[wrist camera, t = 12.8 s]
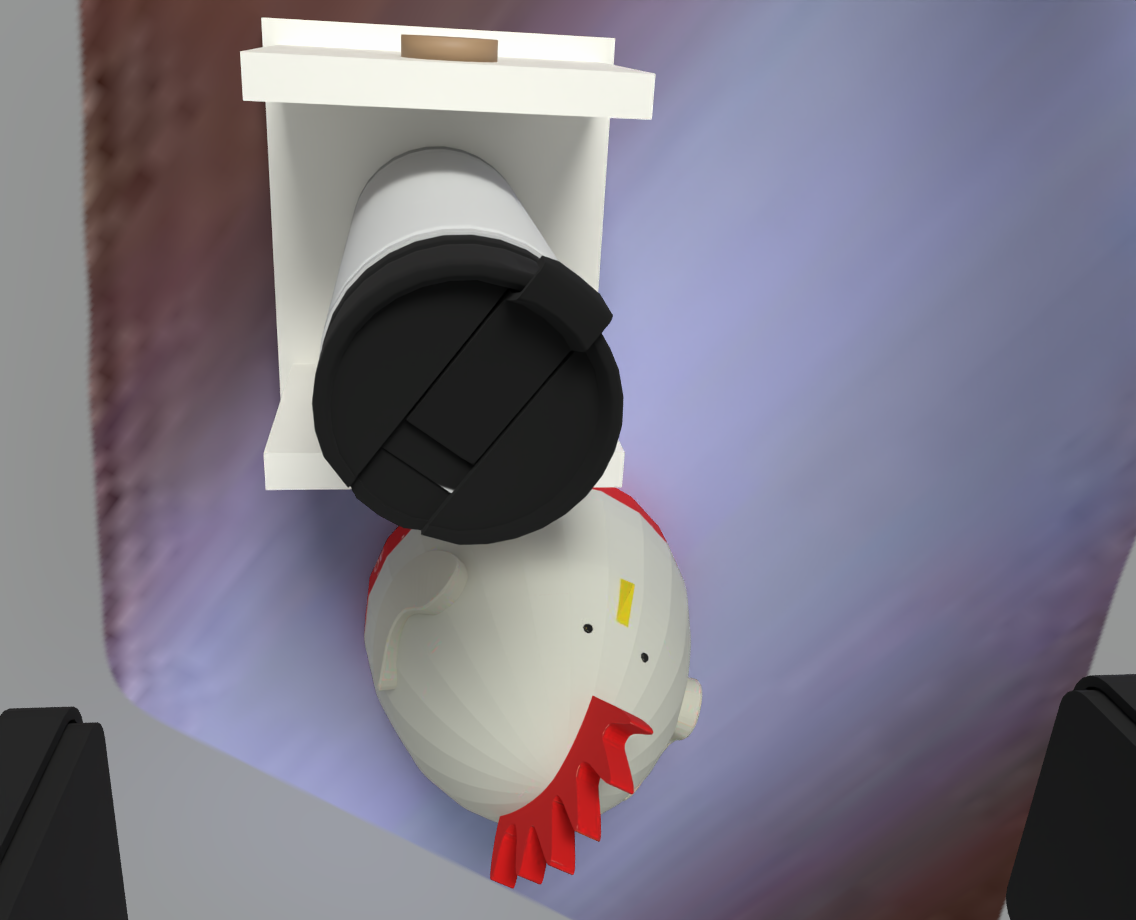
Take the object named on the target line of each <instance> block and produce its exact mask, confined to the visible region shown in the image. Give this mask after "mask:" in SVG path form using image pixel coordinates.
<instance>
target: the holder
mask: <svg viewBox="0 0 1136 920" xmlns="http://www.w3.org/2000/svg"><path fill="white" fill-rule="evenodd" d="M261 20H262V40H263V47H262V48H256V49H251V50H246V51H241V52H240V56H241V73H242V90H243V101H264V102H266V119H267V138H268V158H269V178H270V198H271V217H272V237H273V257H274V277H275V296H276V316H277V336H278V356H279V376H280V395H281V401H280V404H279V407H278V410H277V413H276V416H275V420H274V423H273V426H272V429H271V432H270V435H269V438H268V441H267V444H266V447H265V451H264V468H265V485H266V490H327V489H351V487H349V488H348V487H347V486H346V485H345V483H344V482H343V481H342V480H341V478H340V477H339V476H338V475H337V473H336V472H335V471H334V470H333V468H332V467H331V466H330V465H329V463H328V462H327V461H326V460H325V458H324V457H323V454H322V451H321V448H320V445H319V442H318V439H317V436H316V433H315V428H314V419H313V409H312V397H313V388H314V380H315V373H316V369H317V365H318V361H319V354H320V346H321V338H322V334H323V331H324V326H325V322H326V318H327V315H328V311H329V307H330V303H331V299H332V295H333V291H334V287H335V283H336V280H337V276H338V272H339V268H340V264H341V260H342V256H343V252H344V248H345V245H346V241H347V237H348V233H349V229H350V225H351V221H352V218H353V214H354V210H355V207H356V204H357V201H358V198H359V195H360V194H361V192H362V190H363V189H364V187H365V185H366V183H367V182H368V180H369V179H370V178H371V177H372V176H373V175H374V174H375V172H376V171H377V170H378V169H379V168H380V167H381V166H383V165H384V164H386V163H387V162H388V161H390V160H391V159H392V158H394V157H396V156H398V155H400V154H403V153H405V152H407V151H409V150H414V149H418V148H423V147H435V146H445V147H450V148H455V149H461V150H464V151H466V152H468V153H471V154H473V155H476V156H478V157H480V158H481V159H483V160H484V161H486V162H487V163H489V164H490V165H492V166H493V167H494V168H495V169H496V170H497V171H498V172H499V173H500V174H501V175H502V176H503V177H504V178H505V180H506V181H507V183H508V184H509V185H510V187H511V188H512V190H513V191H514V193H515V194H516V196H517V198H518V199H519V201H520V202H521V204H522V205H523V207H524V208H525V210H526V211H527V213H528V215H529V216H530V218H531V219H532V221H533V222H534V224H535V225H536V227H537V229H538V230H539V232H540V233H541V235H542V236H543V238H544V239H545V241H546V242H547V244H548V246H549V247H550V249H551V250H552V252H553V253H554V255H555V256H556V258H557V259H558V261H559V262H561V263H562V264H564V265H565V266H566V267H568V268H569V269H570V270H572V271H573V272H574V273H576V274H577V275H578V276H580V277H581V278H582V279H583V280H584V281H586V282H587V283H588V284H589V285H590V286H591V287H593V288H594V289H595V290H596V291H597V292H598V287H599V272H600V257H601V242H602V227H603V212H604V197H605V182H606V167H607V152H608V138H609V123H610V118H626V119H648V120H652V110H653V98H654V85H655V74H653V73H649V72H644V71H639V70H635V69H630V68H625V67H620V66H616V65H613V63H614V48H615V38H601V37H584V36H567V35H550V34H533V33H516V32H499V31H482V30H465V29H448V28H431V27H414V26H397V25H380V24H363V23H346V22H329V21H312V20H295V19H278V18H261ZM624 454H625V452H624V450H623V448H622V446H621V444H620V442H619V440H618V442H617V446H616V450H615V452H614V454H613V456H612V458H611V460H610V462H609V464H608V466H607V468H606V470H605V472H604V474H603V476H602V477H601V478H600V479H599V481H598V482H597V483H596V485H595V486H594V487H622V479H623V467H624Z"/></svg>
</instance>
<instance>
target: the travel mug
mask: <svg viewBox="0 0 1136 920" xmlns="http://www.w3.org/2000/svg"><path fill="white" fill-rule="evenodd" d="M612 317H613V314H612V313H611V311H610V310H609V308H608V307H607V305H606V303H605V302H604V300H603V298H602V297H601V295H600V294H599V293H598V292H597V291H596V290H595V289H594V288H593V287H591V286H590V285H589V284H588V283H587V282H586V281H584V280H583V279H582V278H581V277H580V276H578V275H577V274H576V273H574V272H573V271H572V270H570V269H569V268H568V267H566V266H565V265H564V264H562V263H561V262H559V261H558V259H557V258H556V256H555V255H554V253H553V252H552V250H551V249H550V247H549V246H548V244H547V242H546V241H545V239H544V238H543V236H542V235H541V233H540V232H539V230H538V229H537V227H536V225H535V224H534V222H533V221H532V219H531V218H530V216H529V215H528V213H527V211H526V210H525V208H524V207H523V205H522V204H521V202H520V201H519V199H518V198H517V196H516V194H515V193H514V191H513V190H512V188H511V187H510V185H509V184H508V183H507V181H506V180H505V178H504V177H503V176H502V175H501V174H500V173H499V172H498V171H497V170H496V169H495V168H494V167H493V166H492V165H490V164H489V163H487V162H486V161H484V160H483V159H481V158H480V157H478V156H476V155H473V154H471V153H468V152H466V151H464V150H461V149H455V148H450V147H445V146H435V147H423V148H418V149H414V150H409V151H407V152H405V153H403V154H400V155H398V156H396V157H394V158H392V159H391V160H390V161H388V162H387V163H386V164H384V165H383V166H381V167H380V168H379V169H378V170H377V171H376V172H375V174H374V175H373V176H372V177H371V178H370V179H369V180H368V182H367V183H366V185H365V187H364V189H363V190H362V192H361V194H360V195H359V198H358V201H357V204H356V207H355V210H354V214H353V218H352V221H351V225H350V229H349V233H348V237H347V241H346V245H345V248H344V252H343V256H342V260H341V264H340V268H339V272H338V276H337V280H336V283H335V287H334V291H333V295H332V299H331V303H330V307H329V311H328V315H327V318H326V322H325V326H324V331H323V334H322V338H321V346H320V354H319V361H318V365H317V369H316V373H315V380H314V388H313V397H312V409H313V419H314V428H315V433H316V436H317V439H318V442H319V445H320V448H321V451H322V454H323V457H324V458H325V460H326V461H327V462H328V463H329V465H330V466H331V467H332V468H333V470H334V471H335V472H336V473H337V475H338V476H339V477H340V478H341V480H342V481H343V482H344V483H345V485H346V486H347V487H348V488H349V487H351V489H352V491H353V492H354V494H355V496H356V498H357V499H359V500H360V501H361V502H362V503H364V504H365V505H366V506H368V507H369V508H370V509H371V510H373V511H374V512H375V513H377V514H378V515H379V516H381V517H383V518H385V519H387V520H389V521H391V522H393V523H395V524H397V525H399V526H400V527H402V528H406V529H414V530H421V535H424V536H427V537H431V538H435V539H439V540H442V541H446V542H450V543H453V544H457V545H478V544H491V543H496V542H501V541H507V540H512V539H516V538H519V537H521V536H524V535H527V534H529V533H532V532H534V531H537V530H540V529H542V528H544V527H545V526H547V525H549V524H551V523H552V522H554V521H556V520H557V519H559V518H561V517H562V516H564V515H566V514H567V513H568V512H569V511H570V510H571V509H572V508H574V507H575V506H576V505H577V504H578V503H579V502H580V501H582V500H583V499H584V498H585V497H586V496H587V495H588V494H589V492H590V491H591V490H592V488H593V487H594V486H595V485H596V483H597V482H598V481H599V479H600V478H601V477H602V476H603V474H604V472H605V470H606V468H607V466H608V464H609V462H610V460H611V458H612V456H613V454H614V452H615V450H616V446H617V442H618V438H619V434H620V431H621V427H622V417H623V392H622V386H621V380H620V374H619V369H618V367H617V364H616V362H615V359H614V357H613V354H612V352H611V349H610V347H609V346H608V344H607V342H606V340H605V338H604V337H603V335H602V332H603V331H604V329H605V328H606V327H607V326H608V324H609V323H610V322H611V320H612Z"/></svg>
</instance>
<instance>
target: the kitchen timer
mask: <svg viewBox="0 0 1136 920" xmlns="http://www.w3.org/2000/svg"><path fill="white" fill-rule="evenodd" d="M364 641H365V647H366V652H367V656H368V660H369V665H370V669H371V673H372V678H373V682H374V686H375V690H376V694H377V697H378V699H379V701H380V703H381V705H382V707H383V709H384V711H385V713H386V715H387V717H388V719H389V720H390V722H391V724H392V726H393V728H394V729H395V731H396V733H397V735H398V736H399V738H400V739H401V741H402V743H403V744H404V746H405V747H406V749H407V751H408V752H409V754H410V755H411V757H412V759H413V760H414V762H415V763H416V765H417V766H418V768H419V769H420V770H421V772H422V773H423V774H424V775H425V776H426V777H427V778H428V779H429V780H430V781H431V782H433V783H434V784H435V785H436V786H437V787H439V788H440V789H441V790H442V791H443V792H445V793H446V794H447V795H448V796H449V797H451V798H452V799H453V800H454V801H455V802H457V803H458V804H459V805H461V806H462V807H463V808H465V809H467V810H469V811H471V812H473V813H475V814H478V815H480V816H482V817H485V818H487V819H489V820H492V821H494V822H496V823H498V826H497V831H496V836H495V842H494V848H493V854H492V862H491V872H490V879H491V880H493V881H495V882H498V883H500V884H503V885H505V886H508V887H510V888H514V886H515V883H516V879H517V875H518V876H520V877H523V878H525V879H528V880H530V881H532V882H535V883H537V884H541V883H542V881H543V878H544V873H545V868H546V862H547V864H548V865H549V866H552V867H554V868H557V869H559V870H561V871H564V872H566V873H568V874H571V875H573V874H574V871H575V833H574V831H576V832H578V833H580V834H583V835H585V836H587V837H589V838H592V839H594V840H596V841H598V842H599V841H600V838H601V816H600V815H601V814H603V813H604V812H606V811H608V810H609V809H611V808H613V807H614V806H616V805H618V804H619V803H621V802H622V801H624V800H627V799H628V798H630V797H631V796H632V795H633V794H634V793H635V791H636V790H637V789H638V788H639V786H640V785H641V783H642V782H643V780H644V779H645V778H646V777H647V776H648V775H649V774H650V772H651V771H652V769H653V767H654V766H655V764H656V762H657V761H658V759H659V757H660V756H661V754H662V753H663V752H664V750H665V749H666V748H667V747H668V746H669V745H670V744H671V743H672V742H674V741H676V740H682V739H685V738H687V737H688V736H689V735H690V734H691V732H692V731H693V729H694V727H695V725H696V723H697V720H698V717H699V713H700V708H701V702H702V688H701V684H700V683H699V682H698V680H696V679H693V678H689V677H688V672H689V662H690V649H691V636H690V623H689V611H688V599H687V592H686V587H685V584H684V580H683V578H682V576H681V573H680V571H679V569H678V567H677V564H676V562H675V560H674V557H673V555H672V553H671V551H670V548H669V546H668V544H667V542H666V540H665V538H664V536H663V534H662V532H661V530H660V528H659V526H658V525H657V524H656V523H655V522H654V521H653V520H652V519H651V518H650V517H649V516H648V514H647V513H646V512H645V511H644V510H643V509H642V508H641V507H640V506H639V505H638V503H637V502H636V501H635V500H634V499H633V498H632V497H631V496H629V495H627V494H626V493H624V492H622V491H620V490H619V489H617V488H615V487H593V488H592V490H591V491H590V492H589V494H588V495H587V496H586V497H585V498H584V499H583V500H582V501H580V502H579V503H578V504H577V505H576V506H575V507H574V508H572V509H571V510H570V511H569V512H568V513H567V514H566V515H564V516H562V517H561V518H559V519H557V520H556V521H554V522H552V523H551V524H549V525H547V526H545V527H544V528H542V529H540V530H537V531H534V532H532V533H529V534H527V535H524V536H521V537H519V538H516V539H512V540H507V541H501V542H496V543H491V544H478V545H457V544H453V543H450V542H446V541H442V540H439V539H435V538H431V537H427V536H424V535H421V530H414V529H406V528H402V527H400V526H398V527H397V529H396V530H395V531H394V532H393V533H392V534H391V535H390V536H389V537H388V539H387V541H386V543H385V545H384V547H383V550H382V552H381V554H380V556H379V558H378V560H377V563H376V565H375V567H374V569H373V571H372V573H371V576H370V580H369V589H368V598H367V607H366V616H365V630H364Z"/></svg>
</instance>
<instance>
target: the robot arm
mask: <svg viewBox="0 0 1136 920" xmlns="http://www.w3.org/2000/svg"><path fill="white" fill-rule="evenodd" d="M120 861H121V860H120V853H119V845H118V838H117V830H116V821H115V813H114V806H113V798H112V790H111V782H110V774H109V767H108V759H107V751H106V743H105V736H104V731H103V728H102V726H101V724H100V723H98V722H97V723H83V721H82V716H81V714H80V712H79V710H78V709H77V708H75V707H46V708H16V709H15V708H14V709H8V710H5V711H4V712H3V713H2V714H1V716H0V920H128V915H127V907H126V899H125V892H124V884H123V876H122V868H121V862H120ZM1006 904H1007V909H1008V914H1009V917H1010V920H1136V674H1126V675H1095V676H1087V677H1084V678H1082V679H1081V680H1080V681H1079V682H1078V683H1077V684H1076V686H1075V688H1074V690H1073V691H1070V692H1068V693H1067V694H1066V695H1065V696H1064V697H1063V698H1062V701H1061V703H1060V706H1059V709H1058V713H1057V716H1056V720H1055V723H1054V727H1053V730H1052V734H1051V737H1050V741H1049V744H1048V748H1047V751H1046V755H1045V758H1044V762H1043V765H1042V769H1041V772H1040V776H1039V779H1038V783H1037V786H1036V790H1035V793H1034V797H1033V800H1032V804H1031V807H1030V811H1029V814H1028V817H1027V821H1026V824H1025V828H1024V831H1023V835H1022V838H1021V842H1020V845H1019V849H1018V852H1017V856H1016V859H1015V863H1014V866H1013V870H1012V873H1011V877H1010V880H1009V884H1008V887H1007V893H1006Z"/></svg>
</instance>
